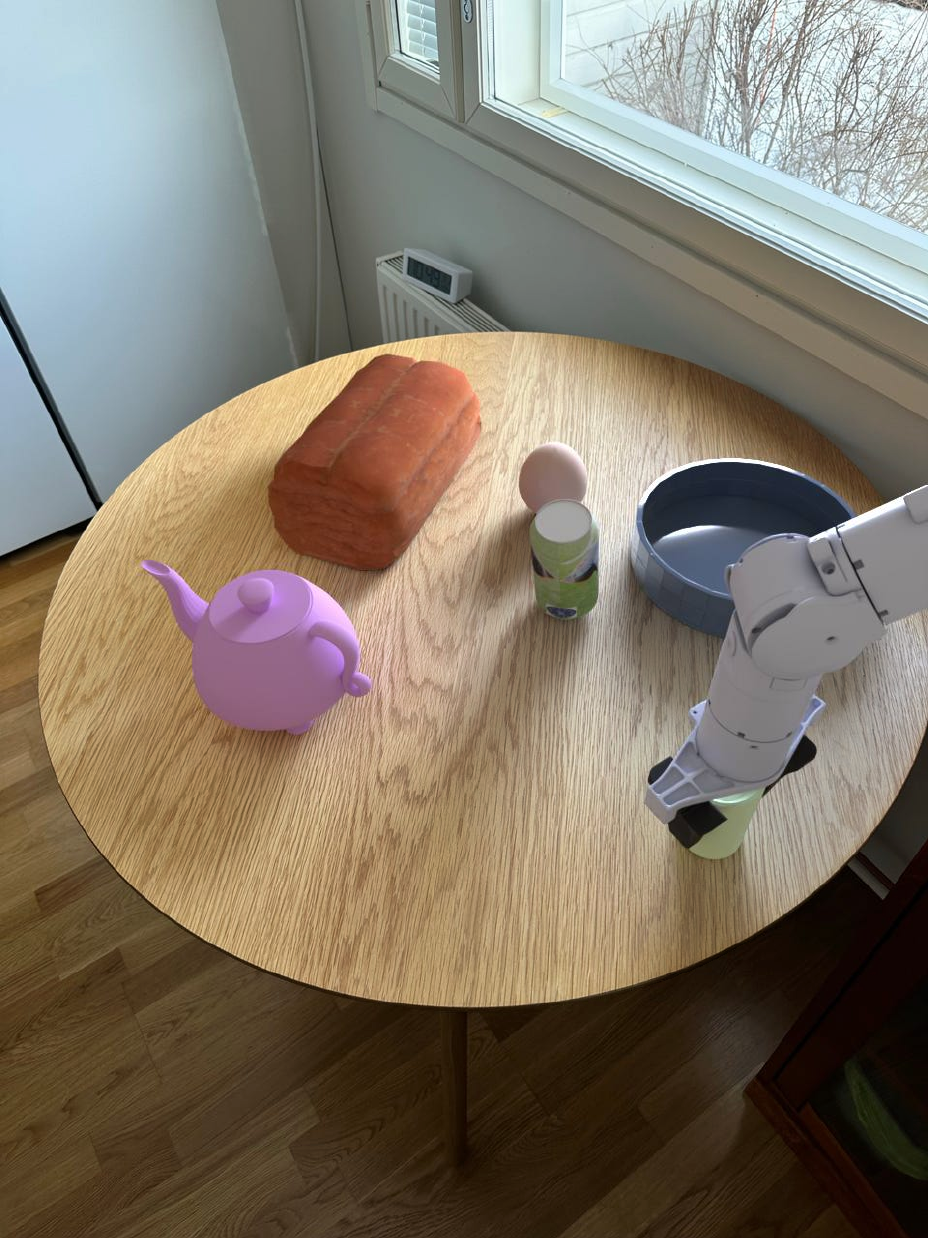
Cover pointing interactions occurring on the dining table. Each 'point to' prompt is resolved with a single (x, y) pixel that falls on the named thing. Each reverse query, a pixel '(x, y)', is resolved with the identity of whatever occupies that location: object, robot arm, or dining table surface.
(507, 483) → the dining table surface
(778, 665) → the robot arm
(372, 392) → the bread
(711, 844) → the candle
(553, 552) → the beverage can
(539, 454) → the egg
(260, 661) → the teapot
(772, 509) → the bowl
